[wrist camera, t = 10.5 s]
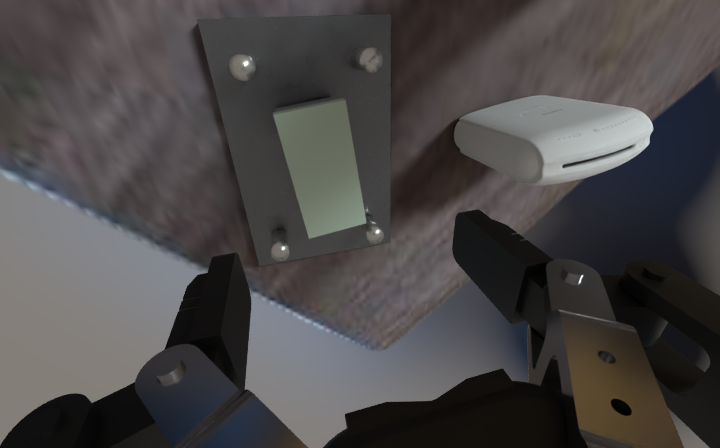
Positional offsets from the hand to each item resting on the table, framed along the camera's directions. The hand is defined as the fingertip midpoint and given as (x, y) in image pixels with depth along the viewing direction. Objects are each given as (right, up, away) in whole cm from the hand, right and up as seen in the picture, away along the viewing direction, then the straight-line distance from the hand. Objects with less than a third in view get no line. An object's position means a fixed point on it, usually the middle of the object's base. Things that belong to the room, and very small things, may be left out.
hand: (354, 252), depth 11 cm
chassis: (-4, +8, +17) cm, 19 cm away
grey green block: (-3, +7, +16) cm, 17 cm away
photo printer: (+14, +12, +21) cm, 28 cm away
